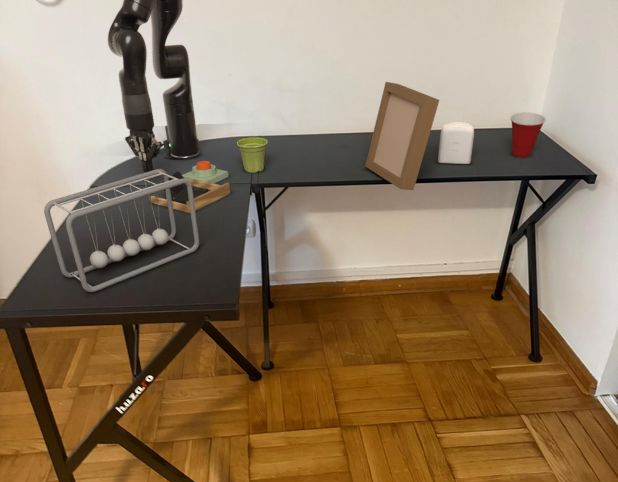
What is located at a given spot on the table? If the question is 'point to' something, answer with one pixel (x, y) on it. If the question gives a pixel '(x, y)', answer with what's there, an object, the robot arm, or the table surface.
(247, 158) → the plant pot
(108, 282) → the newton's cradle
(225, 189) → the wooden frame
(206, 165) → the power button
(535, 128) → the plastic cup
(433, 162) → the table surface
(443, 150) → the photo printer
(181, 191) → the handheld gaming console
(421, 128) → the photo frame
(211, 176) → the switch box
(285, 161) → the table surface
